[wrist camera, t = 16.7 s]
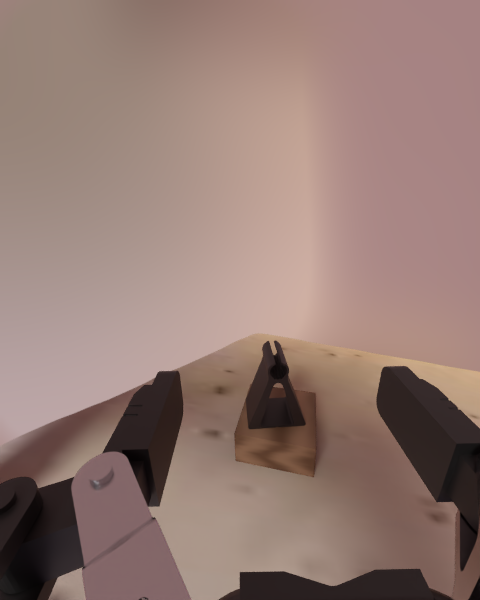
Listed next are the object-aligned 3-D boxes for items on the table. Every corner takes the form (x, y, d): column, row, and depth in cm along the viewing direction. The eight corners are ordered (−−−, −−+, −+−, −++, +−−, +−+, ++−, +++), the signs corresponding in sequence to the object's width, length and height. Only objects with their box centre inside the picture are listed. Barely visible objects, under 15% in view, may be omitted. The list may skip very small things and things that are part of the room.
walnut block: (235, 462, 43) (234, 433, 41) (251, 408, 54) (250, 384, 52) (313, 478, 40) (316, 448, 38) (313, 418, 51) (315, 392, 49)
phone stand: (296, 398, 47) (299, 339, 43) (305, 425, 42) (310, 361, 37) (245, 401, 47) (243, 342, 43) (248, 429, 42) (245, 364, 37)
